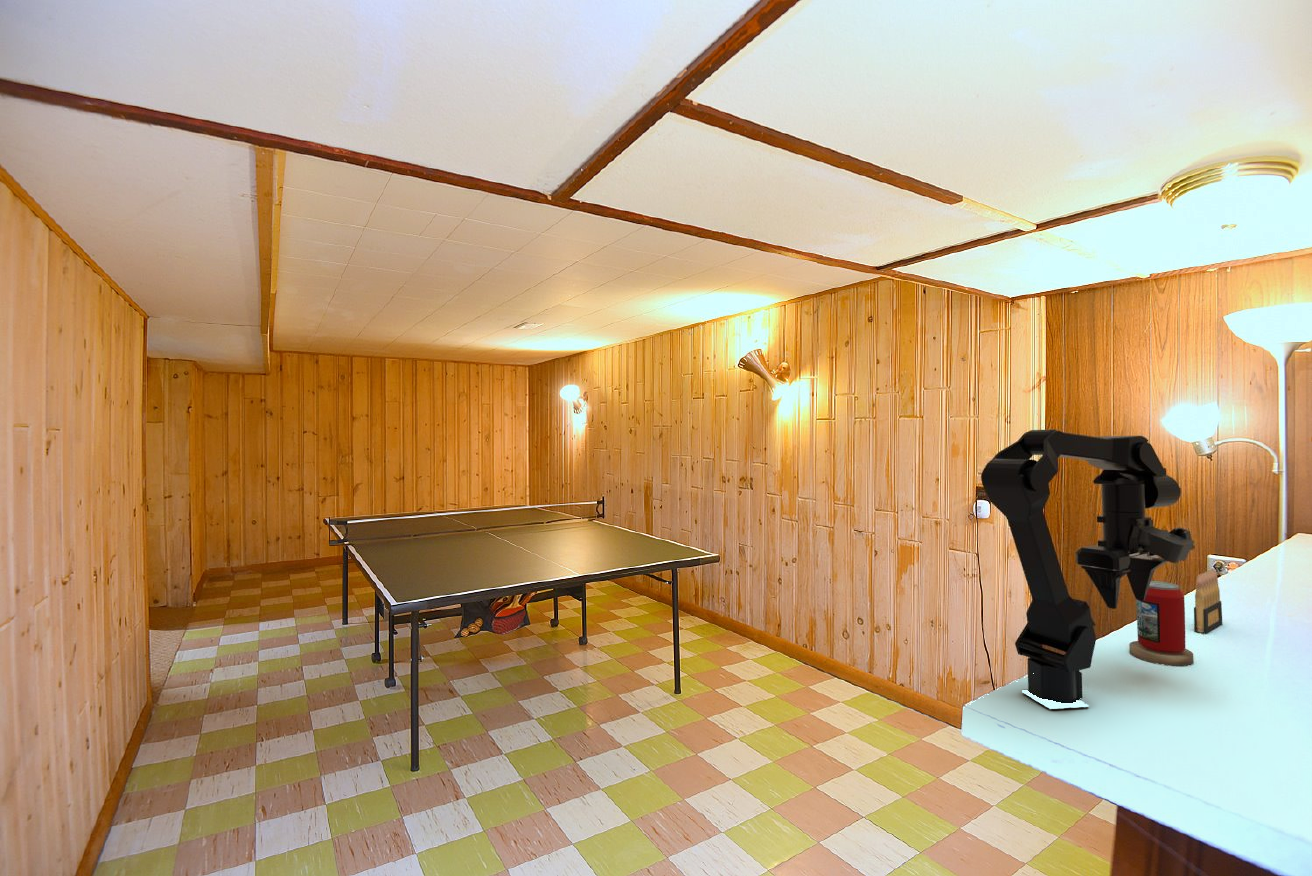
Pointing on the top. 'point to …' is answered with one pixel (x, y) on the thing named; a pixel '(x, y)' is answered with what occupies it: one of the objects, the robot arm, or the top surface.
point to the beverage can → (1162, 618)
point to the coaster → (1161, 656)
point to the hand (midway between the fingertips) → (1126, 604)
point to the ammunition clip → (1207, 603)
